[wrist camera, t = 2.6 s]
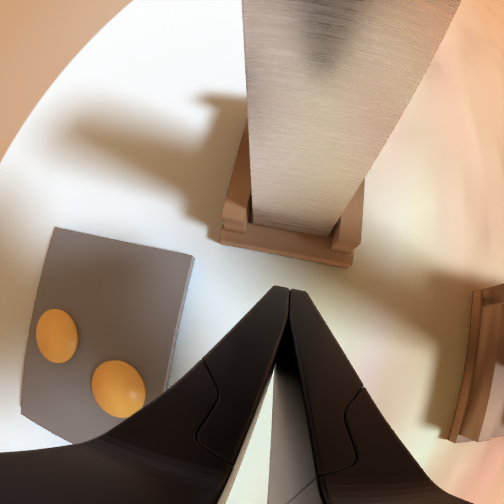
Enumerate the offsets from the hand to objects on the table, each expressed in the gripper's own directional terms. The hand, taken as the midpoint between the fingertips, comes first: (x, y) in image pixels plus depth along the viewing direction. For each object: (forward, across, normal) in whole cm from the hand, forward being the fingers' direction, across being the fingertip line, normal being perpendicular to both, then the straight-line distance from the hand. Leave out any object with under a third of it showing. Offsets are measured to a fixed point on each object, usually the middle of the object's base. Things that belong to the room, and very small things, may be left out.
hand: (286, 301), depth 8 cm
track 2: (+4, -15, +6) cm, 17 cm away
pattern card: (+2, +9, +8) cm, 12 cm away
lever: (+8, 0, 0) cm, 8 cm away
